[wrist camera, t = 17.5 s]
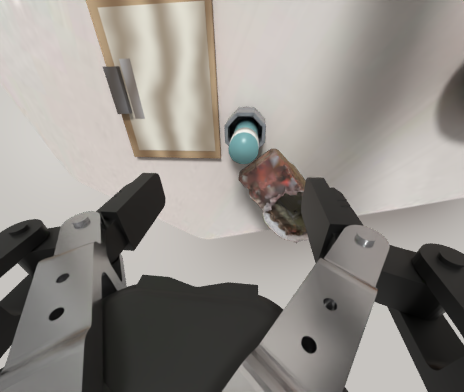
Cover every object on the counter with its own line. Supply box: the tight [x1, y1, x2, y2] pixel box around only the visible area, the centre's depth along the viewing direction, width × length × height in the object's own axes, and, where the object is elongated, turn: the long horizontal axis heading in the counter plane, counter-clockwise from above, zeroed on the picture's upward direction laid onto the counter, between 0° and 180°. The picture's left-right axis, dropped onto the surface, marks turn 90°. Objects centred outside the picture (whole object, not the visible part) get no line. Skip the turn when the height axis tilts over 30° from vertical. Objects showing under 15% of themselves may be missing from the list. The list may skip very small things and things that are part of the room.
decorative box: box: [239, 149, 309, 242], centre depth 37 cm, size 13×20×10 cm, turn 35°
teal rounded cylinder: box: [229, 118, 259, 164], centre depth 30 cm, size 4×4×12 cm
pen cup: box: [225, 107, 266, 148], centre depth 33 cm, size 6×6×6 cm
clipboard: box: [86, 0, 221, 158], centre depth 32 cm, size 18×24×2 cm
